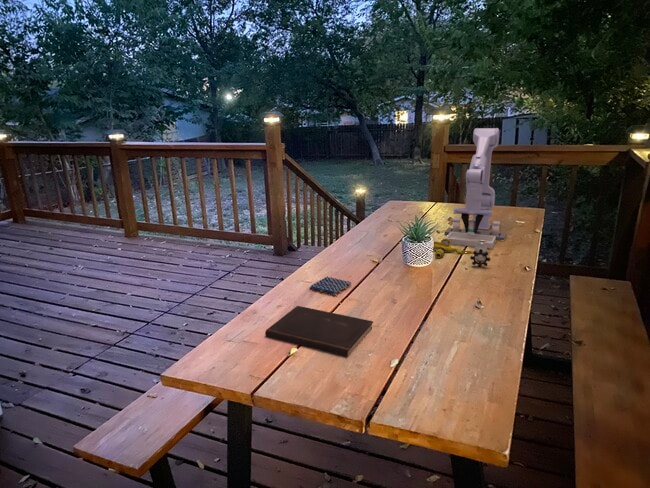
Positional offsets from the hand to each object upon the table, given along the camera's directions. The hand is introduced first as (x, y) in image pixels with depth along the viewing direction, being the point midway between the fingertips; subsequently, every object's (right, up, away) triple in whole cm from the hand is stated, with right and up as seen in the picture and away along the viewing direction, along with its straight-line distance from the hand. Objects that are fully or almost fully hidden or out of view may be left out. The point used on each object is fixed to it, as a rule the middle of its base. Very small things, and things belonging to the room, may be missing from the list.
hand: (471, 232), depth 182 cm
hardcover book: (-60, -28, -65) cm, 93 cm away
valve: (-3, -11, -20) cm, 23 cm away
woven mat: (-57, -19, -38) cm, 71 cm away
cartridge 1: (-2, 0, +14) cm, 14 cm away
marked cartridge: (0, -2, +1) cm, 2 cm away
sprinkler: (-13, -9, -9) cm, 18 cm away
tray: (0, -4, +1) cm, 4 cm away
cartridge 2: (+12, -2, +7) cm, 14 cm away
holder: (+5, -1, +10) cm, 11 cm away
